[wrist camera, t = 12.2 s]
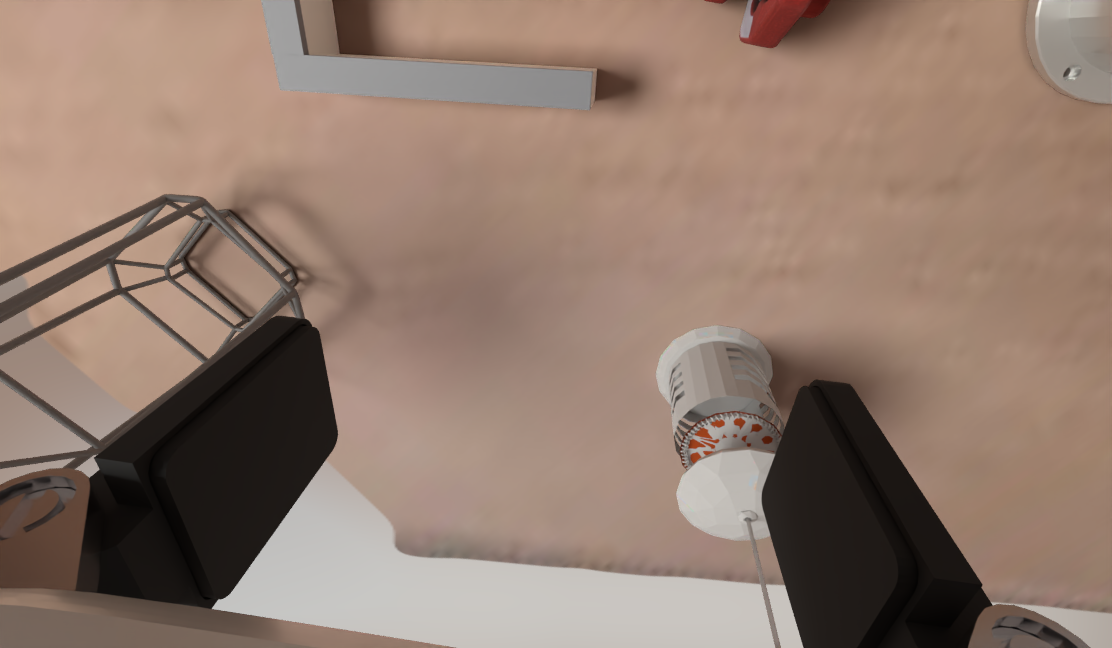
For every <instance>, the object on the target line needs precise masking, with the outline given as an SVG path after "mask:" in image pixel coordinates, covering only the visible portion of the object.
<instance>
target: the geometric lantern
mask: <svg viewBox="0 0 1112 648" xmlns="http://www.w3.org/2000/svg"><path fill="white" fill-rule="evenodd" d="M174 202H183V203H190V204H188V205H186V206H184V207H181V206H179V205H178V204H176V203H174ZM166 204H167V205H169V206H171V207H173V208H175V209H177V211H175V212H173V213H171V214H169V215H167V216H165V217H163V218H162V219H160V220H158V221H156V222H154V223H152V224H150V225H148V224H149V223H150V222H151V220H152V219H153V218H154V217H155V216H156V215H157V214H158V213H159V212H160V211H161V210H162V209H163V208H164V207H165V206H166ZM200 207H201V209H202V210H203V212H204V213H205V215H206V216H204V217H200V216H198V215H196V214H194V213H192V212H193V211H195V210H197V209H198V208H200ZM144 214H145V215H144ZM142 215H144V216H143V217H142V218H141V220H140V221H139V222H138V223H137V224H136V225H135V226H134V227H133V228H132V229H131V230H130V231H129V233H128V234H127V235H126V236H125V237H124V238H123V239H122V240H120V241H118V242H116V243H114V244H112V245H110V246H108V247H106V248H105V249H103V250H101V251H99V252H97V253H95V254H93V255H91V256H89V257H87V258H85V259H84V260H82V261H80V262H78V263H76V264H74V265H72V266H70V267H68V268H66V269H65V270H63V271H61V272H59V273H57V274H55V275H53V276H51V277H49V278H47V279H46V280H44V281H42V282H40V283H38V284H36V285H34V286H32V287H30V288H28V289H27V290H25V291H23V292H21V293H19V294H17V295H15V296H13V297H11V298H9V299H8V300H6V301H4V302H2V303H0V323H2V322H3V321H5V320H7V319H9V318H11V317H13V316H14V315H16V314H18V313H20V312H22V311H23V310H25V309H27V308H29V307H31V306H32V305H34V304H36V303H38V302H40V301H42V300H43V299H45V298H47V297H49V296H51V295H52V294H54V293H56V292H58V291H60V290H62V289H63V288H65V287H67V286H69V285H71V284H72V283H74V282H76V281H78V280H80V279H81V278H83V277H85V276H87V275H89V274H91V273H93V272H94V271H96V270H98V269H100V268H102V267H104V266H105V265H106V267H107V270H108V273H109V276H110V279H111V282H112V285H113V288H114V289H113V290H111V291H109V292H107V293H105V294H103V295H101V296H99V297H97V298H95V299H93V300H90V301H88V302H86V303H84V304H82V305H80V306H78V307H76V308H74V309H72V310H70V311H68V312H66V313H64V314H62V315H60V316H58V317H56V318H54V319H52V320H50V321H48V322H46V323H44V324H42V325H40V326H38V327H36V328H34V329H32V330H31V331H29V332H27V333H25V334H23V335H21V336H19V337H17V338H15V339H13V340H11V341H9V342H7V343H5V344H3V345H1V346H0V355H2V354H4V353H6V352H8V351H10V350H12V349H14V348H16V347H18V346H20V345H22V344H24V343H25V342H27V341H29V340H31V339H33V338H35V337H37V336H39V335H41V334H43V333H45V332H47V331H49V330H51V329H53V328H55V327H56V326H58V325H60V324H62V323H64V322H66V321H68V320H70V319H72V318H74V317H76V316H78V315H80V314H81V313H83V312H85V311H87V310H89V309H91V308H93V307H95V306H97V305H99V304H101V303H103V302H105V301H107V300H109V299H111V298H113V297H115V296H117V295H121V296H122V297H123V298H124V299H125V300H127V301H128V302H129V303H130V304H132V305H133V306H134V307H135V308H136V309H138V310H139V311H140V312H141V313H142V314H144V315H145V316H146V317H147V318H149V319H150V320H151V321H152V322H153V323H155V324H156V325H157V326H158V327H160V328H161V329H162V330H163V331H164V332H166V333H167V334H168V335H169V336H170V337H172V338H173V339H174V340H175V341H177V342H178V343H179V344H180V345H181V346H183V347H184V348H185V349H186V350H188V351H189V352H190V353H191V354H192V355H194V356H195V357H196V358H197V359H198V360H200V361H201V362H202V363H203V364H202V365H201V366H199V367H198V368H197V369H196V370H195V371H193V372H192V373H191V374H190V375H189V376H187V377H186V378H185V379H183V380H182V381H180V382H179V383H178V384H176V385H175V386H174V387H172V388H171V389H170V390H168V391H167V392H165V393H164V394H163V395H161V396H160V397H159V398H157V399H156V400H155V401H153V402H152V403H150V404H149V405H148V406H146V407H145V408H144V409H142V410H141V411H139V412H138V413H137V414H135V415H134V416H133V417H131V418H130V419H129V420H127V421H126V422H125V423H123V424H122V425H120V426H119V427H118V428H116V429H115V430H114V431H112V432H111V433H109V434H108V435H107V436H105V437H104V438H103V439H101V440H100V441H99V440H98V439H96V438H95V437H94V436H92V435H91V434H89V433H88V432H86V431H85V430H84V429H83V428H81V427H80V426H78V425H77V424H76V423H74V422H73V421H71V420H70V419H69V418H67V417H66V416H64V415H63V414H62V413H60V412H59V411H58V410H56V409H55V408H53V407H52V406H50V405H49V404H48V403H46V402H45V401H44V400H42V399H41V398H39V397H38V396H37V395H35V394H34V393H32V392H31V391H30V390H28V389H27V388H25V387H24V386H23V385H21V384H20V383H18V382H17V381H16V380H14V379H13V378H11V377H10V376H9V375H7V374H6V373H5V372H3V371H2V370H0V381H1V382H2V383H4V384H5V385H7V386H8V387H10V388H11V389H12V390H14V391H15V392H17V393H18V394H20V395H21V396H22V397H24V398H25V399H26V400H28V401H29V402H31V403H32V404H34V405H35V406H36V407H38V408H39V409H41V410H42V411H43V412H45V413H46V414H48V415H49V416H50V417H52V418H53V419H55V420H56V421H58V422H59V423H60V424H62V425H63V426H64V427H66V428H67V429H69V430H70V431H72V432H73V433H74V434H76V435H77V436H79V437H80V438H81V439H83V440H84V441H86V442H87V443H89V444H90V445H91V446H92V447H90V448H89V449H88V450H84V451H77V452H70V453H63V454H55V455H48V456H40V457H33V458H26V459H18V460H11V461H4V462H0V469H2V468H9V467H16V466H23V465H30V464H36V463H43V462H50V461H56V460H63V459H69V458H75V459H74V460H72V461H71V462H70V463H68V464H67V465H66V466H64V467H63V468H70V469H76V468H77V467H78V466H80V465H81V464H82V463H84V462H85V461H86V460H88V459H89V458H90V457H92V456H93V455H97V454H99V453H101V452H102V451H103V450H105V449H106V448H107V447H108V446H110V445H111V444H112V443H113V442H115V441H116V440H117V439H119V438H120V437H121V436H122V435H124V434H125V433H126V432H127V431H129V430H130V429H131V428H133V427H134V426H135V425H136V424H138V423H139V422H140V421H141V420H143V419H144V418H145V417H146V416H148V415H149V414H150V413H152V412H153V411H154V410H155V409H157V408H158V407H159V406H160V405H162V404H163V403H164V402H166V401H167V400H168V399H169V398H171V397H172V396H173V395H174V394H176V393H177V392H178V391H180V390H181V389H182V388H183V387H185V386H186V385H187V384H188V383H190V382H191V381H192V380H194V379H195V378H196V377H197V376H199V375H200V374H201V373H202V372H204V371H205V370H206V369H208V368H209V367H210V366H211V365H213V364H214V363H215V362H216V361H218V360H219V359H220V358H222V357H223V356H224V355H225V354H227V353H228V352H229V351H230V350H232V349H233V348H234V347H236V346H237V345H238V344H239V343H241V342H242V341H243V340H244V339H246V338H247V337H248V336H249V335H251V334H252V333H253V332H254V331H255V330H257V329H258V328H259V327H260V326H261V325H262V324H264V323H265V322H266V321H267V320H268V319H269V318H271V317H272V316H273V315H274V314H275V313H276V312H278V311H279V310H280V309H281V308H282V307H283V306H284V305H286V304H287V303H289V305H290V307H291V309H292V311H293V313H294V315H295V317H296V318H303V319H305V317H304V312H303V309H302V305H301V302H300V298H299V295H298V292H297V290H296V289H295V288H294V287H293V285H294V284H295V283H296V282H297V279H296V277H295V274H294V272H293V269H292V267H291V266H289V265H288V264H287V263H286V262H285V261H284V260H283V259H282V258H281V257H279V256H278V255H277V254H276V253H275V252H274V251H273V250H272V249H271V248H270V247H269V246H267V245H266V244H265V243H264V242H263V241H262V240H261V239H260V238H259V237H258V236H257V235H255V234H254V233H253V232H252V231H251V230H250V229H249V228H248V227H247V226H246V225H244V224H243V223H242V222H241V221H240V220H239V219H238V218H237V217H236V216H235V215H234V214H232V213H231V212H230V211H229V210H219V211H217V210H216V209H215V208H214V207H213V206H212V205H211V204H210V203H209V202H208V201H207V200H206V199H204V198H202V197H198V196H188V195H174V194H165V195H162V196H160V197H158V198H156V199H154V200H152V201H150V202H148V203H146V204H144V205H142V206H140V207H138V208H136V209H134V210H132V211H130V212H127V213H125V214H123V215H121V216H119V217H117V218H115V219H113V220H111V221H109V222H106V223H104V224H102V225H100V226H98V227H96V228H94V229H92V230H90V231H87V232H85V233H83V234H81V235H79V236H77V237H75V238H73V239H71V240H68V241H66V242H64V243H62V244H60V245H58V246H56V247H54V248H52V249H49V250H47V251H45V252H43V253H41V254H39V255H37V256H35V257H33V258H30V259H28V260H26V261H24V262H22V263H20V264H18V265H16V266H14V267H11V268H9V269H7V270H5V271H3V272H1V273H0V285H2V284H4V283H6V282H8V281H11V280H13V279H15V278H17V277H18V276H21V275H23V274H25V273H27V272H29V271H31V270H33V269H35V268H37V267H39V266H41V265H43V264H45V263H47V262H49V261H51V260H53V259H55V258H57V257H59V256H61V255H63V254H65V253H67V252H69V251H71V250H73V249H75V248H77V247H79V246H81V245H83V244H85V243H87V242H89V241H91V240H93V239H95V238H97V237H99V236H101V235H103V234H105V233H107V232H109V231H111V230H113V229H115V228H117V227H119V226H122V225H124V224H126V223H128V222H130V221H132V220H134V219H136V218H138V217H140V216H142ZM186 215H188V216H190V217H192V218H194V219H196V220H197V222H196V223H195V224H194V226H193V227H192V228H191V230H190V231H189V233H188V234H187V235H186V237H185V238H184V240H183V241H182V242H181V244H180V245H179V246H178V248H177V249H176V251H175V252H174V253H173V255H172V256H171V258H170V259H169V260H168V262H167V263H166V264H165V265H157V264H149V263H141V262H132V261H124V260H116V258H117V257H118V256H119V254H120V253H121V252H122V251H123V250H124V249H125V248H127V247H129V246H131V245H133V244H134V243H136V242H138V241H140V240H142V239H144V238H145V237H147V236H149V235H151V234H153V233H154V232H156V231H158V230H160V229H162V228H164V227H165V226H167V225H169V224H171V223H173V222H175V221H176V220H178V219H180V218H182V217H184V216H186ZM227 216H229V217H230V218H231V219H232V220H234V221H235V222H236V223H237V224H238V225H239V226H240V227H241V228H242V229H243V230H244V231H246V232H247V233H248V234H249V235H250V236H251V237H252V238H253V239H254V240H255V241H257V242H258V243H259V244H260V245H261V246H262V247H263V248H264V249H265V250H266V251H268V252H269V253H270V254H271V255H272V256H273V257H274V258H275V259H276V260H277V261H279V262H280V263H281V264H282V265H283V266H284V267H285V268H286V270H285V271H284V272H282V273H281V274H280V273H279V272H278V271H277V270H276V269H275V268H274V267H273V266H272V265H271V264H270V263H269V262H268V261H267V260H266V259H265V258H264V257H263V256H262V255H261V254H260V253H259V252H258V251H257V250H256V249H255V248H254V247H253V246H252V245H251V244H250V243H249V242H248V241H247V240H246V239H245V238H244V237H243V236H242V235H241V234H240V233H239V232H238V231H237V230H236V229H235V228H234V227H233V226H232V225H231V224H230V223H229V222H228V221H227V220H226V219H225V218H226V217H227ZM203 222H205V223H204V224H203V225H202V226H201V228H200V229H199V230H198V232H197V233H196V234H195V232H196V231H197V229H198V228H199V227H200V225H201V224H202V223H203ZM210 223H212V224H213V225H214V226H215V227H216V228H217V229H219V230H220V231H221V232H222V233H223V234H224V235H226V236H227V237H228V238H229V239H230V240H231V241H233V242H234V243H235V244H236V245H237V246H238V247H239V248H241V249H242V250H243V251H244V252H245V253H246V254H248V255H249V256H250V257H251V258H252V259H253V260H255V261H256V262H257V263H258V264H259V265H260V266H262V267H263V268H264V269H265V270H266V271H267V272H268V273H269V274H270V275H271V276H272V277H273V278H274V279H276V280H277V281H278V282H279V283H280V286H281V289H280V290H279V291H278V292H277V293H276V294H275V295H274V296H273V297H272V298H271V299H270V300H269V301H268V303H267V304H266V305H265V306H264V307H263V308H262V309H261V310H260V311H259V312H258V313H257V314H256V315H255V317H254V318H246V317H245V316H244V315H242V314H241V313H240V312H239V311H238V310H237V309H235V308H234V307H233V306H232V305H231V304H229V303H228V302H227V301H226V300H225V299H224V298H222V297H221V296H220V295H219V294H218V293H216V292H215V291H214V290H213V289H212V288H211V287H209V286H208V285H207V284H206V283H205V282H203V281H202V280H201V279H200V278H199V277H198V276H196V275H195V274H194V273H193V272H192V271H190V270H189V268H188V266H187V264H186V262H185V259H184V256H185V255H186V254H187V253H188V251H189V250H190V249H191V247H192V246H193V245H194V244H195V242H196V241H197V240H198V238H199V237H200V236H201V235H202V233H203V232H204V231H205V229H206V228H207V227H208V226H209V224H210ZM147 225H148V226H147ZM194 234H195V235H194ZM193 235H194V237H193V238H192V236H193ZM191 238H192V239H191ZM190 239H191V241H190V242H189V240H190ZM188 242H189V243H188ZM187 243H188V245H187V246H186V244H187ZM185 246H186V247H185ZM184 247H185V248H184ZM183 249H184V250H183ZM182 250H183V251H182ZM181 251H182V252H181ZM180 253H181V254H180ZM179 254H180V255H179ZM178 255H179V259H177V260H175V259H176V258H177V257H178ZM179 263H181V264H182V266H183V269H184V270H182V271H180V272H178V273H177V274H175V275H173V276H171V274H170V270H169V269H170V268H172V267H173V266H175V265H177V264H179ZM115 264H121V265H129V266H138V267H147V268H155V269H164V271H165V275H166V276H163V277H159V278H156V279H152V280H149V281H145V282H142V283H138V284H135V285H132V286H128V287H125V288H122V286H121V284H120V280H119V277H118V274H117V271H116V268H115ZM186 273H187V274H189V275H190V276H191V277H192V278H193V279H195V280H196V281H197V282H198V283H199V284H200V285H202V286H203V287H204V288H205V289H206V290H208V291H209V292H210V293H211V294H212V295H214V296H215V297H216V298H217V299H218V300H219V301H221V302H222V303H223V304H224V305H225V306H227V307H228V308H229V309H230V310H231V311H232V312H234V313H235V314H236V315H237V316H238V317H240V318H241V319H242V321H241V322H239V323H238V324H236V325H235V326H234V325H233V324H232V323H231V322H229V321H228V320H227V319H225V318H224V317H223V316H221V315H220V314H219V313H217V312H216V311H215V310H213V309H212V308H211V307H209V306H208V305H207V304H206V303H204V302H203V301H202V300H200V299H199V298H198V297H196V296H195V295H194V294H192V293H191V292H190V291H188V290H187V289H186V288H184V287H183V286H182V285H181V284H179V283H178V282H177V281H175V279H177V278H179V277H180V276H182V275H184V274H186ZM287 274H290V277H291V279H292V280H290V281H289V282H288V281H287V280H286V279H285V278H284V277H285V276H286V275H287ZM165 280H168V281H169V282H170V283H172V284H173V285H174V286H176V287H177V288H178V289H180V290H181V291H182V292H184V293H185V294H186V295H188V296H189V297H190V298H192V299H193V300H194V301H196V302H197V303H198V304H200V305H201V306H202V307H203V308H205V309H206V310H207V311H209V312H210V313H211V314H213V315H214V316H215V317H217V318H218V319H219V320H221V321H222V322H223V323H225V324H226V325H227V326H229V327H230V328H231V329H233V330H232V331H231V332H230V334H229V335H228V337H227V338H226V339H225V341H224V342H223V344H222V345H221V346H220V348H219V349H218V351H217V352H216V353H215V354H214V355H213V356H212V357H210V358H209V359H208V358H207V357H205V356H204V355H203V354H202V353H201V352H199V351H198V350H197V349H196V348H195V347H193V346H192V345H191V344H190V343H188V342H187V341H186V340H185V339H184V338H182V337H181V336H180V335H179V334H178V333H176V332H175V331H174V330H173V329H172V328H170V327H169V326H168V325H167V324H166V323H164V322H163V321H162V320H161V319H160V318H158V317H157V316H156V315H155V314H153V313H152V312H151V311H150V310H149V309H147V308H146V307H145V306H144V305H143V304H141V303H140V302H139V301H138V300H137V299H135V298H134V297H133V296H132V295H131V294H129V293H128V292H127V291H131V290H134V289H138V288H141V287H144V286H148V285H151V284H155V283H158V282H162V281H165ZM284 295H285V296H284ZM283 296H284V297H283ZM282 297H283V298H282ZM281 298H282V299H281ZM247 322H249V323H248V324H247V325H246V326H245V327H244V328H239V327H241V326H242V325H244V324H245V323H247ZM237 331H239V332H241V333H239V334H238V335H237V336H236V337H235V338H233V339H232V337H233V336H234V334H235V333H236V332H237ZM231 339H232V340H231ZM230 340H231V341H230ZM229 341H230V342H229Z"/></svg>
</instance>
